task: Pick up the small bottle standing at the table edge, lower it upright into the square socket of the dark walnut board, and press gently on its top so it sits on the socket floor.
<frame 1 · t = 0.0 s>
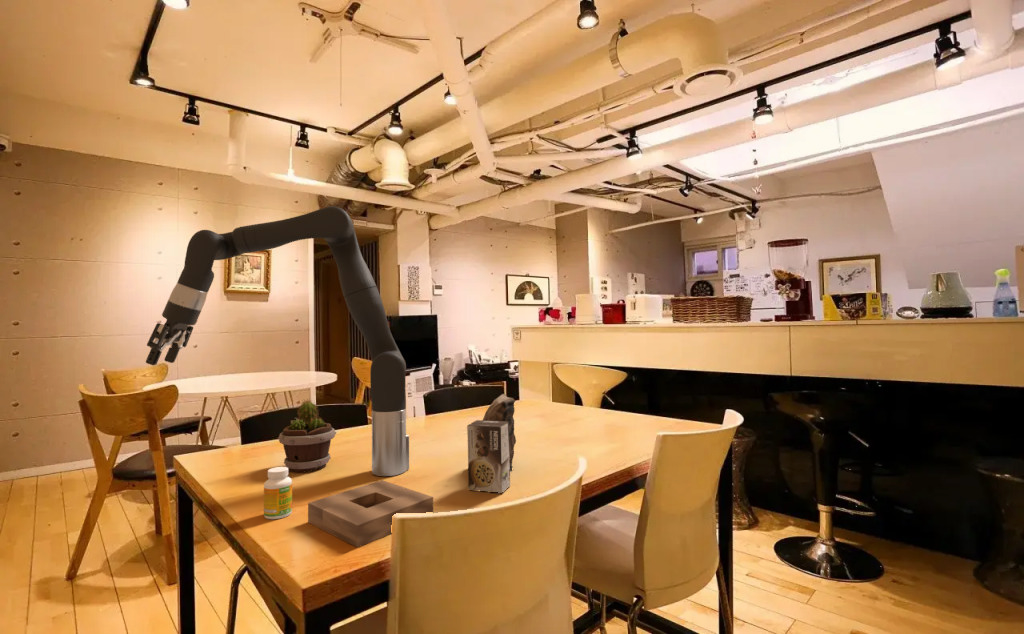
hand: (160, 363, 120), 31 cm above the table, tool tilted 20°, fingers open, 8 cm apart
coffee box: (489, 489, 116), on the table
supplement bottle: (278, 515, 101), on the table
socket board: (371, 519, 98), on the table
flowerpot: (307, 468, 135), on the table
owl: (493, 467, 134), on the table
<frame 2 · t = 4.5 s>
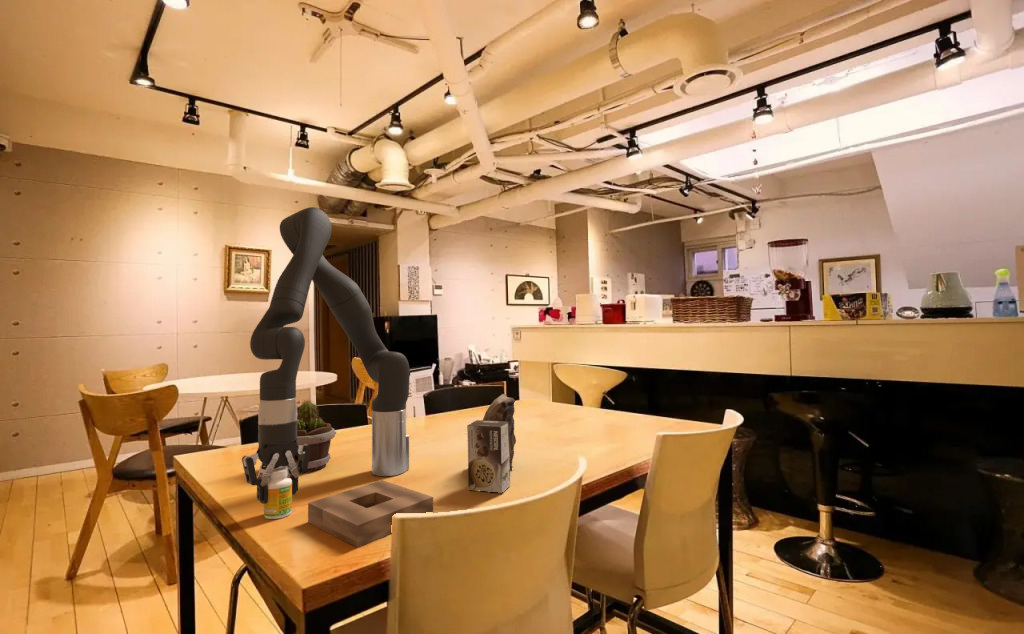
hand: (277, 498, 101), 4 cm above the table, tool pointing down, fingers closed on supplement bottle, 5 cm apart
supplement bottle: (278, 515, 101), on the table, touching gripper
everything else where it was.
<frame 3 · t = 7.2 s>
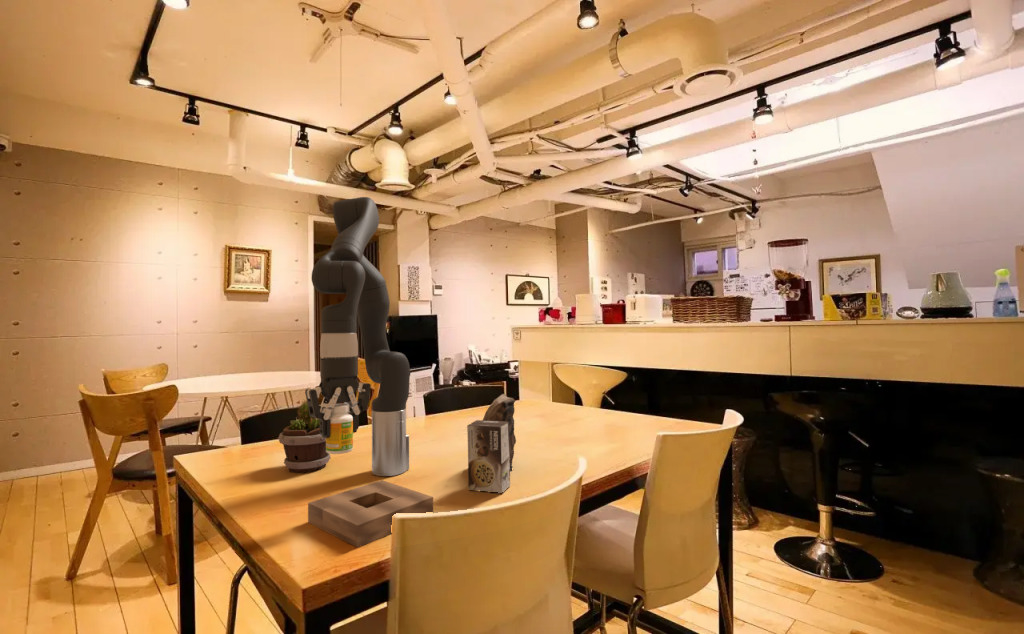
hand: (339, 434, 99), 17 cm above the table, tool pointing down, fingers closed on supplement bottle, 5 cm apart
supplement bottle: (339, 452, 99), point 14 cm above the table, touching gripper
everything else where it was.
when the fingers open (5 cm above the table, at t = 10.1 s): supplement bottle stays where it is, resting on socket board.
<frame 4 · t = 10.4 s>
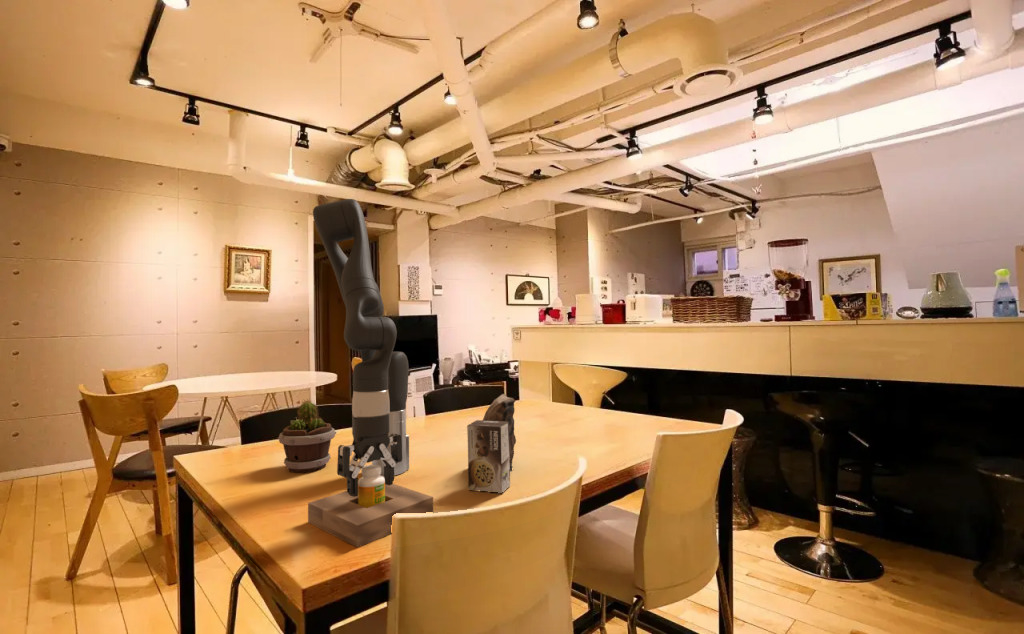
hand: (371, 489, 98), 6 cm above the table, tool pointing down, fingers open, 8 cm apart
supplement bottle: (371, 514, 98), point 1 cm above the table, touching socket board
everything else where it was.
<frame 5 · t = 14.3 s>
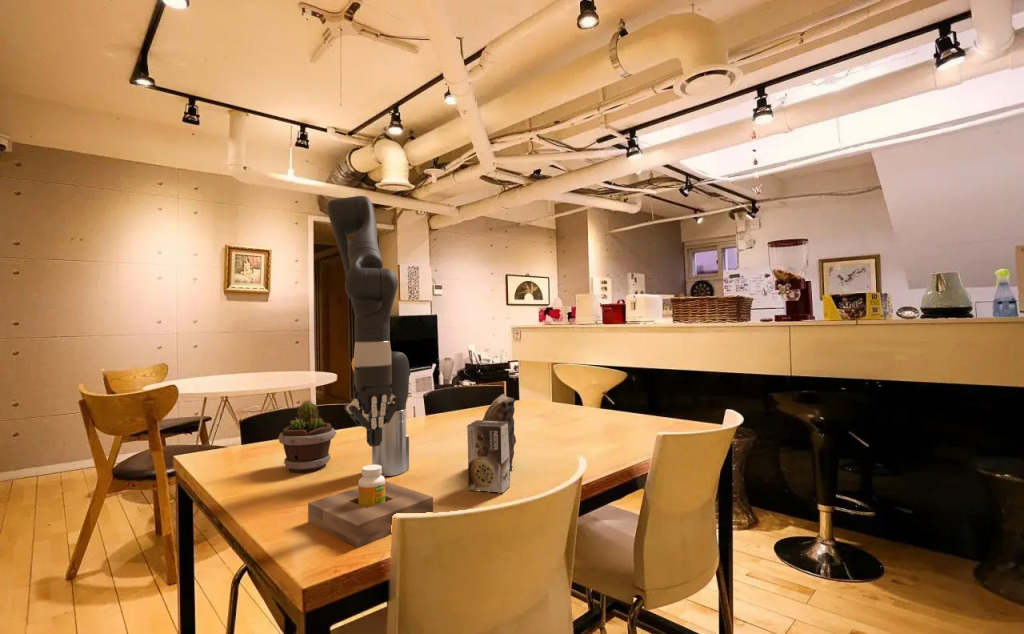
hand: (374, 445, 98), 15 cm above the table, tool pointing down, fingers closed
nothing on the table moved.
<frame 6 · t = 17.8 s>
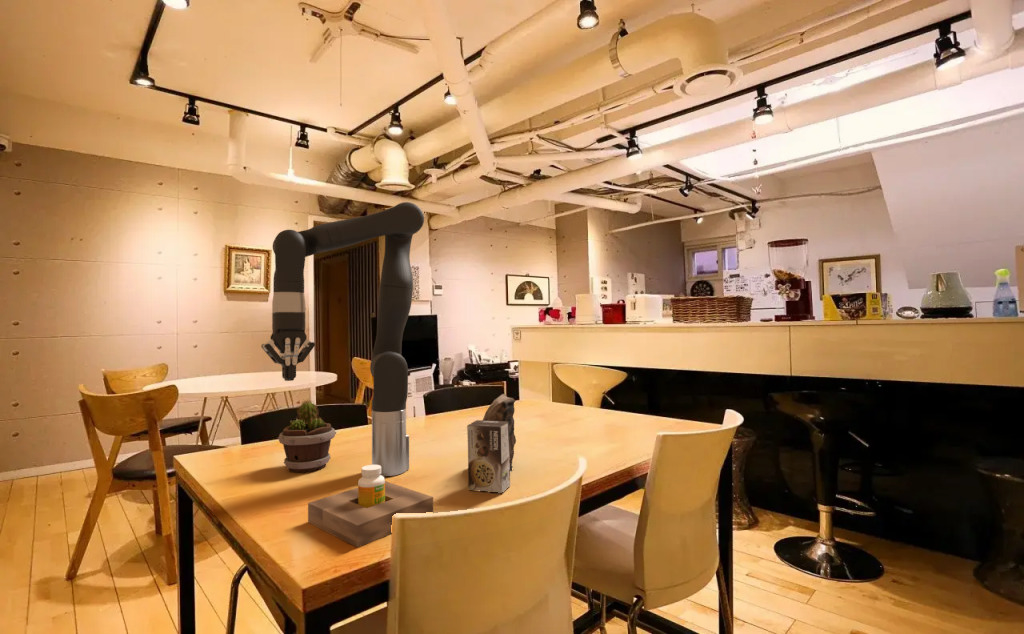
hand: (289, 380, 117), 27 cm above the table, tool pointing down, fingers closed
nothing on the table moved.
at the end: supplement bottle 0.1 cm off-centre on the socket board, point 0.8 cm above the socket board's base; supplement bottle tilted 0°; the gripper is holding nothing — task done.
